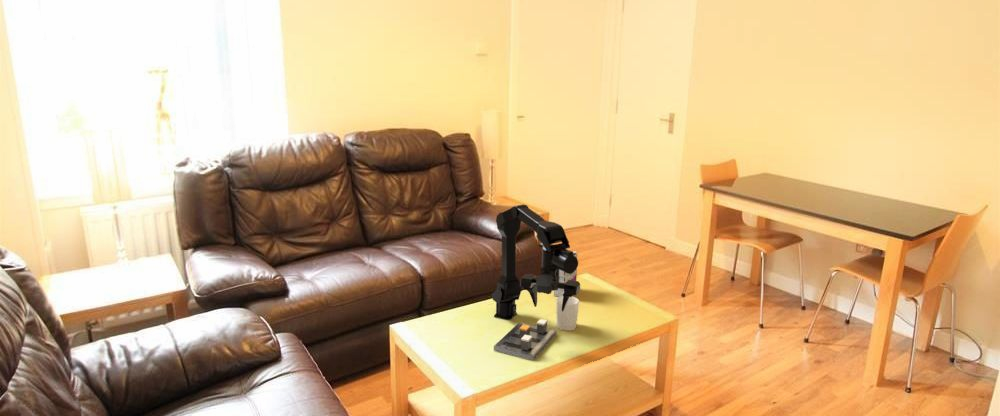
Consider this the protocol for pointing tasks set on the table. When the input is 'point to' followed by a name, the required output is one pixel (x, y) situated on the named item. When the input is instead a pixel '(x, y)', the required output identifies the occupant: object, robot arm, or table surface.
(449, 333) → the table surface
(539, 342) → the panel
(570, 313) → the white cup
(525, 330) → the block
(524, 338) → the block
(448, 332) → the table surface
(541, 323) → the block
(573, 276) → the candy bar box
